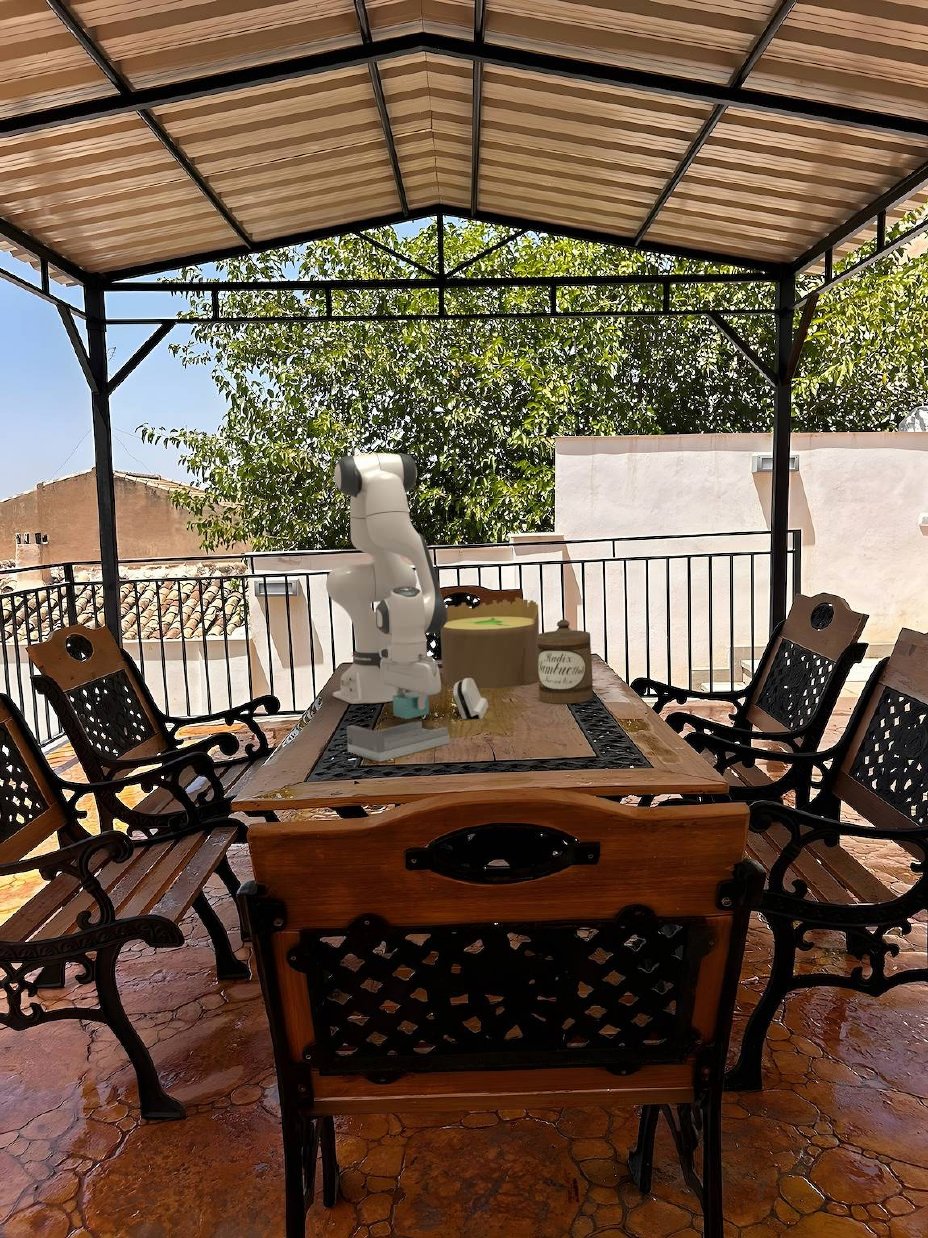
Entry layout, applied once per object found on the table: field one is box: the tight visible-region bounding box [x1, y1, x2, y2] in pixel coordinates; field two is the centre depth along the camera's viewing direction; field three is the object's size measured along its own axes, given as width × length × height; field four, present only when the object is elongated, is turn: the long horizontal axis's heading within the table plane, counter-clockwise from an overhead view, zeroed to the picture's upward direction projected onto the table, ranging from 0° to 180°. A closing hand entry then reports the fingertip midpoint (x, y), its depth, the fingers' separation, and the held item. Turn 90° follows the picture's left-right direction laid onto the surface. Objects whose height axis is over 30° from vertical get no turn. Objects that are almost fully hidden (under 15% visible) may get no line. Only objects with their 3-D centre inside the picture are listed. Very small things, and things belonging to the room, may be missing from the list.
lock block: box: [392, 691, 430, 720], centre depth 225 cm, size 6×8×5 cm
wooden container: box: [537, 619, 594, 705], centre depth 248 cm, size 15×15×22 cm
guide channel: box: [345, 720, 451, 763], centre depth 204 cm, size 12×20×6 cm, turn 131°
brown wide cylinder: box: [439, 597, 540, 689], centre depth 282 cm, size 32×35×24 cm
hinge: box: [452, 678, 489, 720], centre depth 237 cm, size 17×5×10 cm, turn 172°
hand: (411, 706), depth 225 cm, fingers closed on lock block, 5 cm apart
